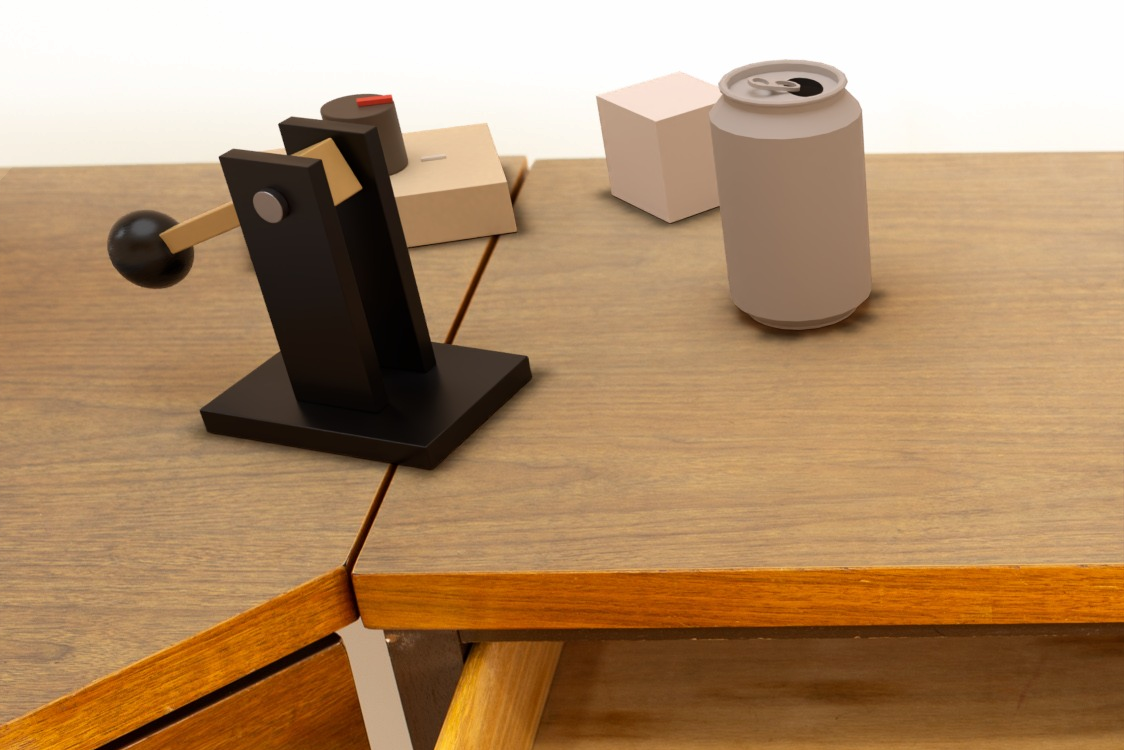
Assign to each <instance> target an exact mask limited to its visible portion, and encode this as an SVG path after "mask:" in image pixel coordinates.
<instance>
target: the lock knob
mask: <svg viewBox="0 0 1124 750" xmlns="http://www.w3.org/2000/svg"><path fill="white" fill-rule="evenodd" d="M319 109H320V110H319V113H320V116H321V117H320V118H321V120H327V121H336V122H345V123H353V124H362V125H371V126H377V128H378V132H379V136H380V140H381V144H382V148H383V152H384V156H385V160H386V164H387V168H388V172H389V175H390V174H393V173H396V172H398V171H400V170H402V169H403V168H405V167H406V166H407V164H408V157H407V153H406V149H405V145H404V140H403V136H402V133H403V131H402V128H401V124H400V121H399V116H398V111H397V108H396V103H395V101H394V99H393V95H392V94H377V93H356V94H350V95H345V96H341V97H337V98H333V99H331V100H329V101H327V102H326V103H324V104H323V105H321V106H320V108H319Z"/></svg>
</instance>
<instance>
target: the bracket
mask: <svg viewBox="0 0 1124 750" xmlns="http://www.w3.org/2000/svg"><path fill="white" fill-rule="evenodd" d="M277 126H278V129H279V130H278V131H279V133H280V136H281V140H282V143H283V146H284V147H283V148H285V150H286V154H287V155H283V154H275V153H266V152H258V151H259V150H257V151H256V150H248V149H241V148H231V149H230V150H228V151H226V152H224V153H222V154H221V155H219V156H218V160H219V163H220V167H221V170H222V173H223V176H224V179H225V182H226V186H227V189H228V193H229V195H230V198H231V201H233V204H234V208H235V211H236V214H237V217H238V220H239V223H240V226H239V227H240V229H241V232H242V235H243V239H244V242H245V245H246V248H247V251H248V254H249V257H250V260H251V264H252V267H253V270H254V273H255V276H256V279H257V283H258V286H259V289H260V291H261V295H262V298H263V301H264V304H265V309H266V310H267V314H268V317H269V320H270V323H271V326H272V329H273V333H274V336H275V339H276V343H277V345H278V349H279V350H278V352H276V353H275V354H274V355H272V356H271V357H270V358H268V359H267V360H265V361H264V362H263V363H261V364H260V365H259V366H258V367H256V368H255V369H253V370H252V371H250V372H249V373H247V374H246V375H245V376H243V377H242V378H241V379H239V380H238V381H237V382H235V383H233V384H232V385H230V386H229V387H228V388H227V389H225V390H224V391H223V392H221V393H220V394H219V395H217V396H216V397H215V398H213V399H212V400H210V401H209V402H208V403H206V404H205V405H203V406H202V407H201V408H200V409H198V410H199V414H200V416H201V419H202V422H203V425H204V427H205V430H206V432H207V433H213V434H219V435H225V436H230V437H235V438H236V437H237V438H242V439H249V440H254V441H260V442H266V443H271V444H278V445H283V446H289V447H290V446H291V447H295V448H302V449H307V450H313V451H319V452H326V453H330V454H337V455H343V456H349V457H353V458H355V457H356V458H359V459H360V458H361V459H365V460H366V459H367V460H373V461H379V462H385V463H391V464H396V465H401V466H402V465H403V466H408V467H414V468H418V469H420V468H421V469H426V470H434V469H435V467H437V466H438V465H439V464H440V463H441V462H442V461H443V460H444V459H446V458H447V456H449V455H450V454H451V453H452V452H453V451H454V450H455V449H456V448H457V447H458V446H460V445H461V444H462V443H463V442H464V441H465V440H466V439H467V438H468V437H469V436H470V435H471V434H473V432H475V431H476V430H477V429H478V428H479V427H480V426H481V425H482V424H484V422H486V420H488V419H489V418H490V417H491V416H492V415H494V413H495V412H496V411H497V410H498V409H500V408H501V407H502V406H503V405H504V404H506V402H507V401H508V400H510V399H511V398H512V397H513V396H514V395H515V394H516V393H517V392H518V391H519V390H521V389H522V388H523V386H525V385H526V384H527V383H528V382H529V381H530V380H531V379H532V378H533V374H532V369H531V365H530V360H529V356H528V355H524V354H518V353H511V352H505V351H498V350H491V349H486V348H485V349H484V348H478V347H472V346H471V347H470V346H464V345H457V344H451V343H444V342H438V341H432V339H431V335H430V331H429V327H428V323H427V319H426V316H425V311H424V308H423V307H424V306H423V304H422V300H421V296H420V292H419V288H418V283H417V280H416V276H415V275H416V274H415V272H414V269H413V263H412V260H411V256H410V251H409V247H407V243H406V239H405V235H404V232H403V228H402V224H401V220H400V216H399V212H398V208H397V204H396V200H395V196H394V192H393V188H392V184H391V180H390V176H389V172H388V168H387V164H386V160H385V156H384V152H383V148H382V144H381V140H380V136H379V132H378V128H377V126H371V125H362V124H353V123H345V122H336V121H327V120H322V119H317V118H309V117H300V116H293V115H292V116H290V117H287V118H286V119H284V120H282V121H281V122H279V123H278V124H277ZM328 138H331V139H332V140H333V141H334V143H335V145H336V146H337V148H338V149H339V151H340V153H341V154H342V156H343V157H344V159H345V161H346V162H347V164H348V165H349V167H350V169H351V170H352V172H353V173H354V175H355V177H356V178H357V180H358V181H359V183H360V185H361V186H362V190H360V191H358V192H357V193H355V194H354V195H352V196H351V197H349V198H348V199H346V200H344V201H343V202H341V203H340V204H338V205H337V206H335V205H334V201H333V198H332V194H331V190H330V187H329V183H328V180H327V176H326V172H325V169H324V165H323V162H322V159H316V158H308V157H299V156H291V155H292V154H294V153H297V152H299V151H301V150H303V149H306V148H308V147H310V146H312V145H315V144H317V143H319V142H321V141H324V140H326V139H328Z"/></svg>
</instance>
